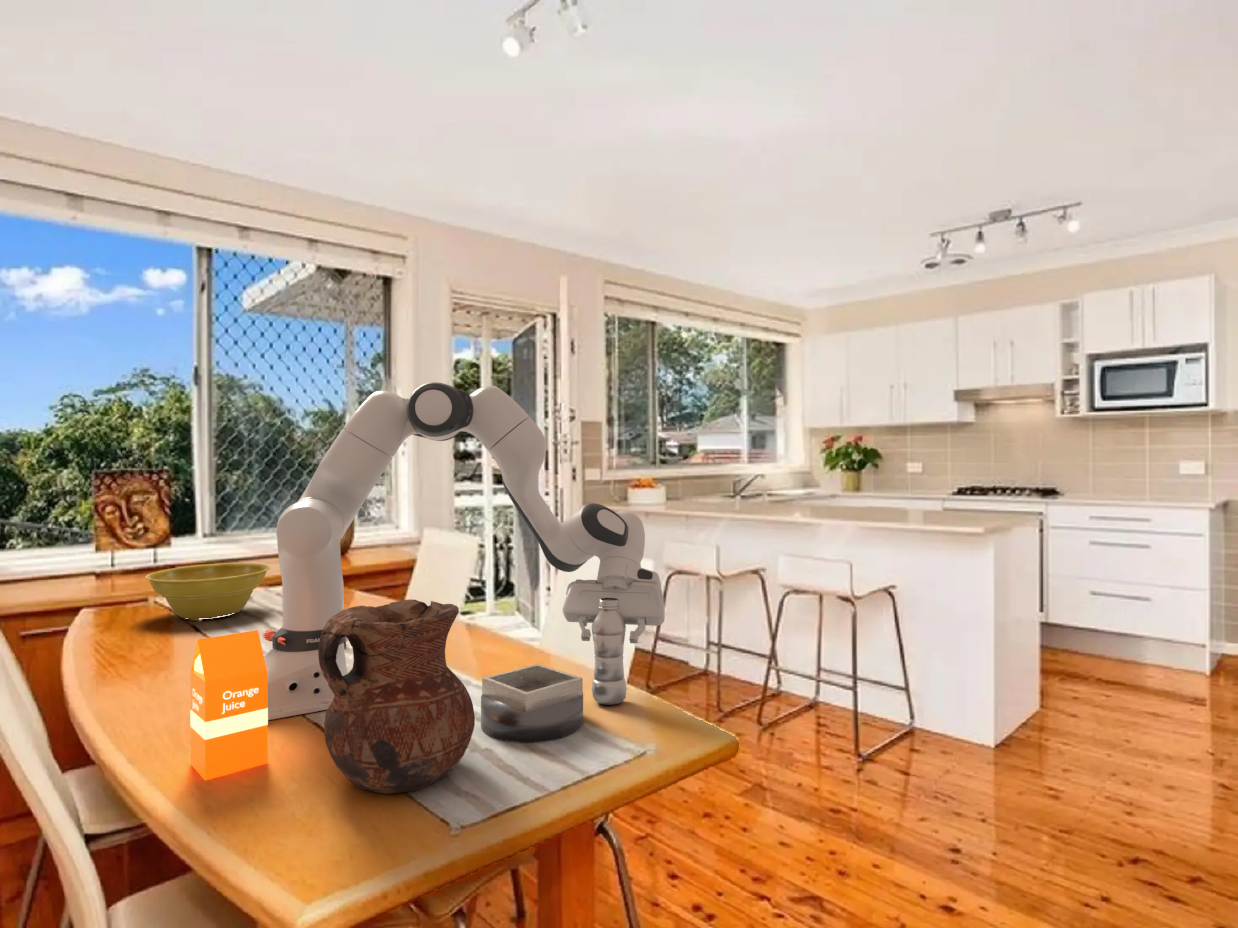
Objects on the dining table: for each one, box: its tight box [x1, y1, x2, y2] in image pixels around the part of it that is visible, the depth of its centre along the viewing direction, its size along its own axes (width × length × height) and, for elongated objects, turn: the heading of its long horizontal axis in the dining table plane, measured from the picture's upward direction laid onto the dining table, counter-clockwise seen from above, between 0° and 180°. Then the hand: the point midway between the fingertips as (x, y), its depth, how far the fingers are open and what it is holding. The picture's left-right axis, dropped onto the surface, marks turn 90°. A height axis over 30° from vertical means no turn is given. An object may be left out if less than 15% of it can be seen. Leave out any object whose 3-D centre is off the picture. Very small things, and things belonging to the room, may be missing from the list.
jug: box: [318, 599, 476, 794], centre depth 110 cm, size 22×21×25 cm
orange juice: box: [189, 629, 269, 781], centre depth 113 cm, size 8×9×20 cm
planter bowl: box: [144, 562, 271, 619], centre depth 217 cm, size 32×32×13 cm
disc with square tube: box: [480, 663, 584, 744], centre depth 132 cm, size 18×20×8 cm
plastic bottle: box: [591, 597, 628, 706], centre depth 141 cm, size 6×7×20 cm
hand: (609, 640), depth 141 cm, fingers open, 8 cm apart
